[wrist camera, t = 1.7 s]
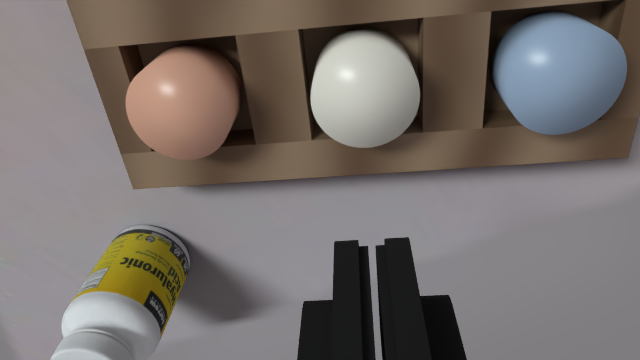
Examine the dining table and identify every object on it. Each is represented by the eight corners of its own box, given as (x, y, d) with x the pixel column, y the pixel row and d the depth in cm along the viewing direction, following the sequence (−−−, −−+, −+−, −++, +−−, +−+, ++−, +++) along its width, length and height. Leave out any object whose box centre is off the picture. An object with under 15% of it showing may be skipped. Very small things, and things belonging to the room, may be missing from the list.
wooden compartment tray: (644, -69, 22) (684, -64, 19) (601, 131, 27) (628, 157, 24) (96, -12, 24) (66, 0, 22) (152, 162, 29) (133, 189, 27)
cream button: (411, 22, 22) (420, 39, 20) (412, 117, 25) (419, 144, 22) (309, 32, 23) (304, 50, 20) (319, 124, 25) (316, 151, 23)
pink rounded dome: (232, 38, 23) (218, 57, 21) (250, 129, 26) (239, 156, 23) (136, 48, 24) (111, 67, 21) (163, 136, 26) (143, 163, 23)
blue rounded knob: (604, 4, 21) (639, 20, 19) (585, 105, 24) (613, 130, 21) (494, 14, 22) (513, 31, 19) (486, 112, 24) (502, 138, 22)
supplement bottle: (208, 260, 33) (161, 386, 25) (156, 294, 35) (96, 421, 27) (149, 208, 31) (75, 325, 23) (96, 246, 33) (11, 368, 25)
